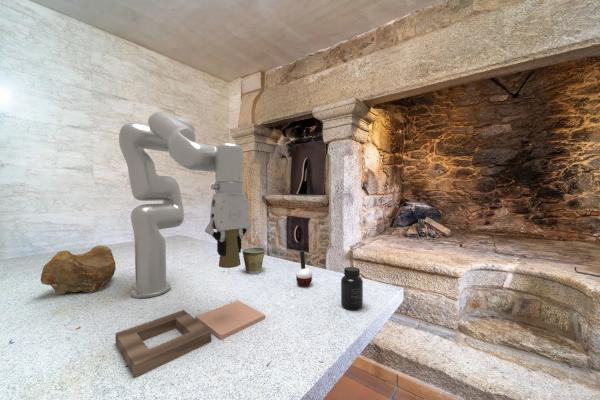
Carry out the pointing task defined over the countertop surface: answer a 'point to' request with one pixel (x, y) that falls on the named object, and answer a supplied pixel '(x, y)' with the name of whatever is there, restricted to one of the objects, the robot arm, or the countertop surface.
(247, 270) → the ceramic cup
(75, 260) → the rough brown rock
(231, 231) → the olive tall flared piece
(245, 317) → the terracotta tile
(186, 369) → the countertop surface
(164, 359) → the frame
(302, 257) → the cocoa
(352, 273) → the supplement bottle
